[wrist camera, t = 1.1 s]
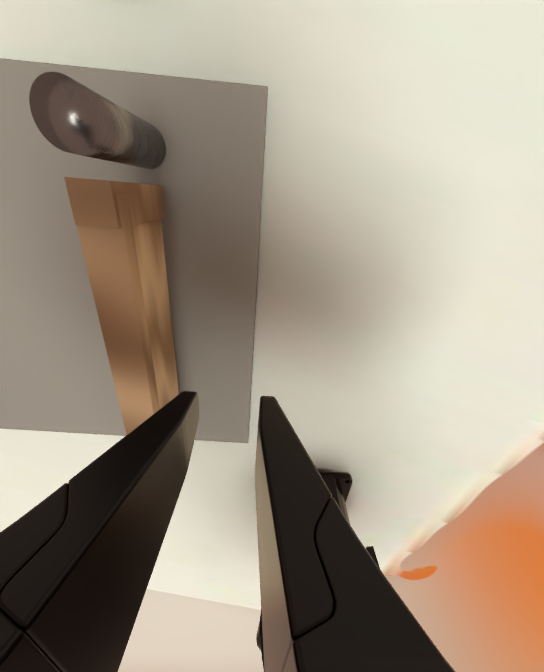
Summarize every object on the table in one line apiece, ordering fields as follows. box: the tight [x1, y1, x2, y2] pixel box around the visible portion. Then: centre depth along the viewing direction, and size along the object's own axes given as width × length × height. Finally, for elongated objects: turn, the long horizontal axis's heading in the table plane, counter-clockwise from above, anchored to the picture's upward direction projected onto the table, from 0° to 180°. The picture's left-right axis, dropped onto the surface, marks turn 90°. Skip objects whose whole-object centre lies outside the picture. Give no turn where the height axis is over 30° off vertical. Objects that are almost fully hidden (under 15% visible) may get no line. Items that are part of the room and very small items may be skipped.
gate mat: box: [0, 58, 268, 443], centre depth 18 cm, size 24×22×1 cm
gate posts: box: [29, 72, 166, 169], centre depth 15 cm, size 20×18×6 cm
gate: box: [64, 177, 179, 435], centre depth 15 cm, size 15×2×5 cm, turn 175°
